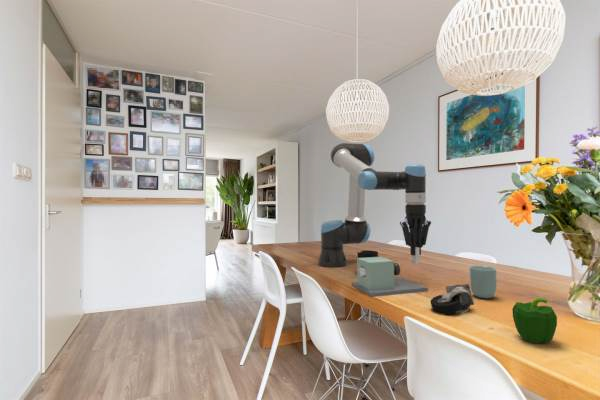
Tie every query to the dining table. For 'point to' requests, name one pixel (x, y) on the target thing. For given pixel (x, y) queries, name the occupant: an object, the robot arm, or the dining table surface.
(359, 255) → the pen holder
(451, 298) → the caster wheel
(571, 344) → the dining table surface
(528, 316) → the bell pepper
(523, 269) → the dining table surface
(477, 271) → the cup
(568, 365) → the dining table surface
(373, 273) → the block
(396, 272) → the shaft
